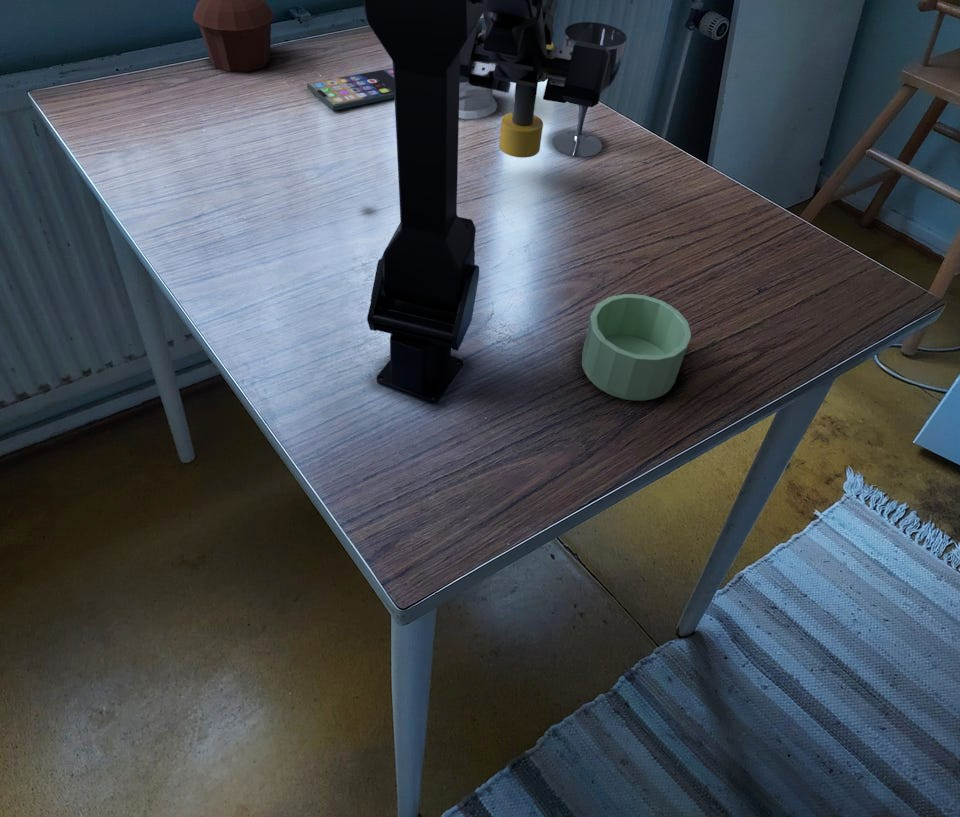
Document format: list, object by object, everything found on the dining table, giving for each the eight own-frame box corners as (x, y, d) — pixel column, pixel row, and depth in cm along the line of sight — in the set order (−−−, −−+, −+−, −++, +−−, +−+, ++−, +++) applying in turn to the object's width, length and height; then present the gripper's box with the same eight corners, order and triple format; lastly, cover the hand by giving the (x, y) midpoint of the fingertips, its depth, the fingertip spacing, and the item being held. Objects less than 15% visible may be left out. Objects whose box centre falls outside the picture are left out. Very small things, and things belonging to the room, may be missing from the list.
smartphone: (422, 92, 118) (422, 84, 117) (333, 113, 112) (332, 105, 111) (394, 71, 123) (394, 63, 122) (307, 90, 116) (306, 82, 115)
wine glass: (539, 147, 109) (554, 36, 98) (562, 125, 114) (579, 17, 103) (592, 164, 107) (613, 52, 96) (613, 140, 112) (635, 32, 101)
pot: (662, 413, 75) (676, 372, 71) (568, 380, 77) (577, 338, 73) (686, 354, 81) (700, 312, 77) (598, 324, 84) (608, 283, 80)
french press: (431, 86, 120) (436, -103, 102) (507, 91, 121) (525, -96, 103) (431, 117, 113) (437, -80, 95) (511, 121, 114) (532, -74, 96)
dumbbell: (530, 161, 98) (544, 56, 88) (492, 150, 99) (502, 45, 90) (545, 144, 101) (560, 40, 92) (508, 133, 102) (519, 30, 93)
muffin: (212, 80, 116) (199, 9, 109) (192, 51, 122) (178, -19, 115) (289, 69, 120) (282, -1, 113) (266, 41, 127) (258, -27, 120)
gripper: (624, -31, 79) (619, 41, 95) (448, -61, 82) (471, 14, 97) (597, 77, 80) (596, 131, 95) (423, 44, 82) (449, 102, 98)
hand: (528, 92), depth 96 cm, fingers closed on dumbbell, 5 cm apart
